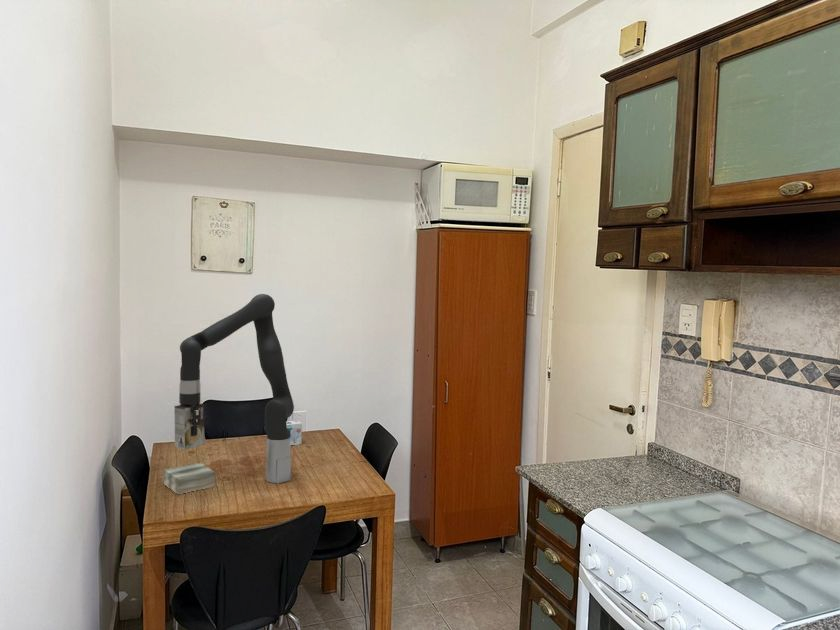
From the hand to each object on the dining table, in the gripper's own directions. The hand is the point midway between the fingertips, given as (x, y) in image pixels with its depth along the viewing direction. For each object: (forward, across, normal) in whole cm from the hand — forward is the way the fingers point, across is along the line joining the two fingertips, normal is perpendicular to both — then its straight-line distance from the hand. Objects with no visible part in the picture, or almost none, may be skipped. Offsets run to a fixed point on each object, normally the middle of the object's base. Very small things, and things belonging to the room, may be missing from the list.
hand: (189, 433), depth 225 cm
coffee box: (+5, 0, 0) cm, 5 cm away
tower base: (+21, 0, 0) cm, 21 cm away
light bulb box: (+21, +25, -60) cm, 68 cm away
